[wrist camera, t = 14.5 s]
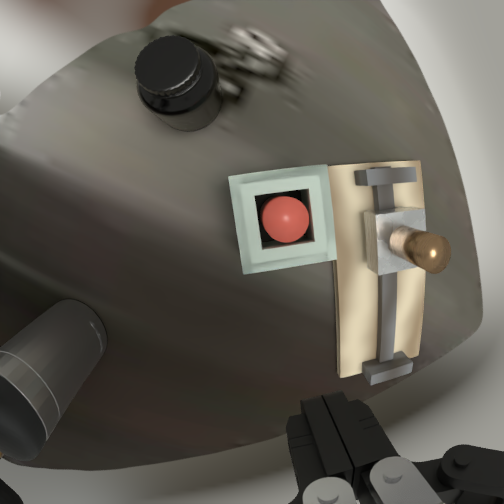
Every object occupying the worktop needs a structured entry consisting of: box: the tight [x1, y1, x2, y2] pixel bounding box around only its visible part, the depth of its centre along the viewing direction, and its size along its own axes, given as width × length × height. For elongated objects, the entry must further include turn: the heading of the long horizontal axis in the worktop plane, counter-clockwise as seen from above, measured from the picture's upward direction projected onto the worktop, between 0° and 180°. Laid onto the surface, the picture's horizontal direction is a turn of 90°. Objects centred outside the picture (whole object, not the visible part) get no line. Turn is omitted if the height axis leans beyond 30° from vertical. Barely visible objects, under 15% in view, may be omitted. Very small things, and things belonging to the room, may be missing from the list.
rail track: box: [327, 161, 425, 385], centre depth 32 cm, size 12×26×5 cm, turn 8°
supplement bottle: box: [135, 35, 222, 131], centre depth 23 cm, size 7×7×12 cm
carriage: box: [364, 206, 451, 275], centre depth 26 cm, size 6×6×10 cm
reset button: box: [260, 195, 309, 243], centre depth 25 cm, size 4×4×4 cm
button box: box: [228, 164, 337, 275], centre depth 28 cm, size 9×8×8 cm
